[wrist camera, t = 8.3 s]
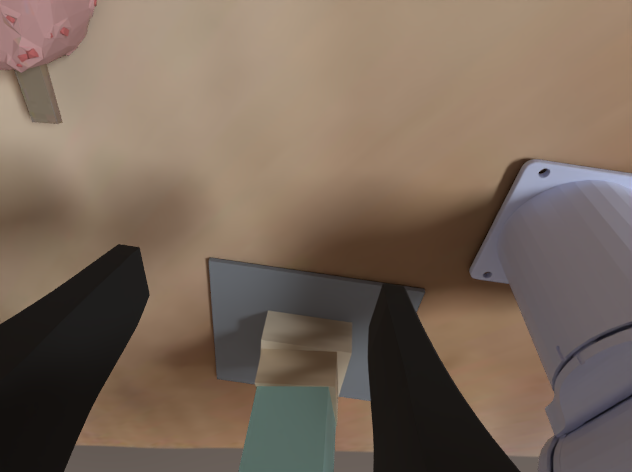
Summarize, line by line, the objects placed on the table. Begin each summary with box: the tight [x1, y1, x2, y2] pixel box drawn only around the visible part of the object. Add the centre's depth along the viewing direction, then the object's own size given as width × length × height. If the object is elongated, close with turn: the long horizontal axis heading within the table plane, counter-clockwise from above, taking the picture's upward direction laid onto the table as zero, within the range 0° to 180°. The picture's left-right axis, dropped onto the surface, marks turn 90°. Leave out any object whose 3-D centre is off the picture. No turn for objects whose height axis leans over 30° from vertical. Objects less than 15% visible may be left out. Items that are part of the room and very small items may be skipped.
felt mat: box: [209, 258, 425, 401], centre depth 30 cm, size 14×14×1 cm
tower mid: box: [255, 349, 338, 426], centre depth 27 cm, size 5×5×2 cm
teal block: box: [239, 386, 336, 472], centre depth 24 cm, size 4×4×5 cm
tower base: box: [260, 310, 352, 397], centre depth 29 cm, size 6×6×2 cm
